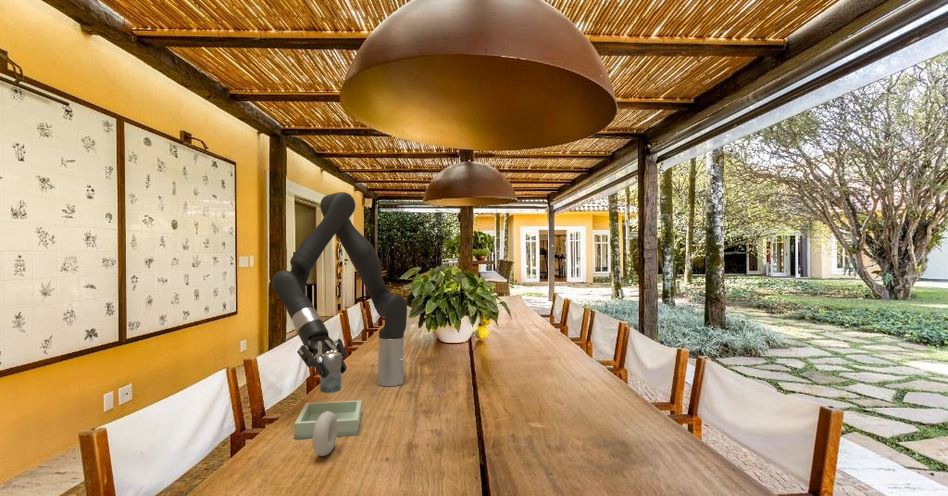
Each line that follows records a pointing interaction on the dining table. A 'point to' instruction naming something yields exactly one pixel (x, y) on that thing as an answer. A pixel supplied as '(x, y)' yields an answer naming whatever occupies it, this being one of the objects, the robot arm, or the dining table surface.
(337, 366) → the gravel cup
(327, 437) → the donut
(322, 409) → the pale green shallow tray
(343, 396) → the dining table surface
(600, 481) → the dining table surface
